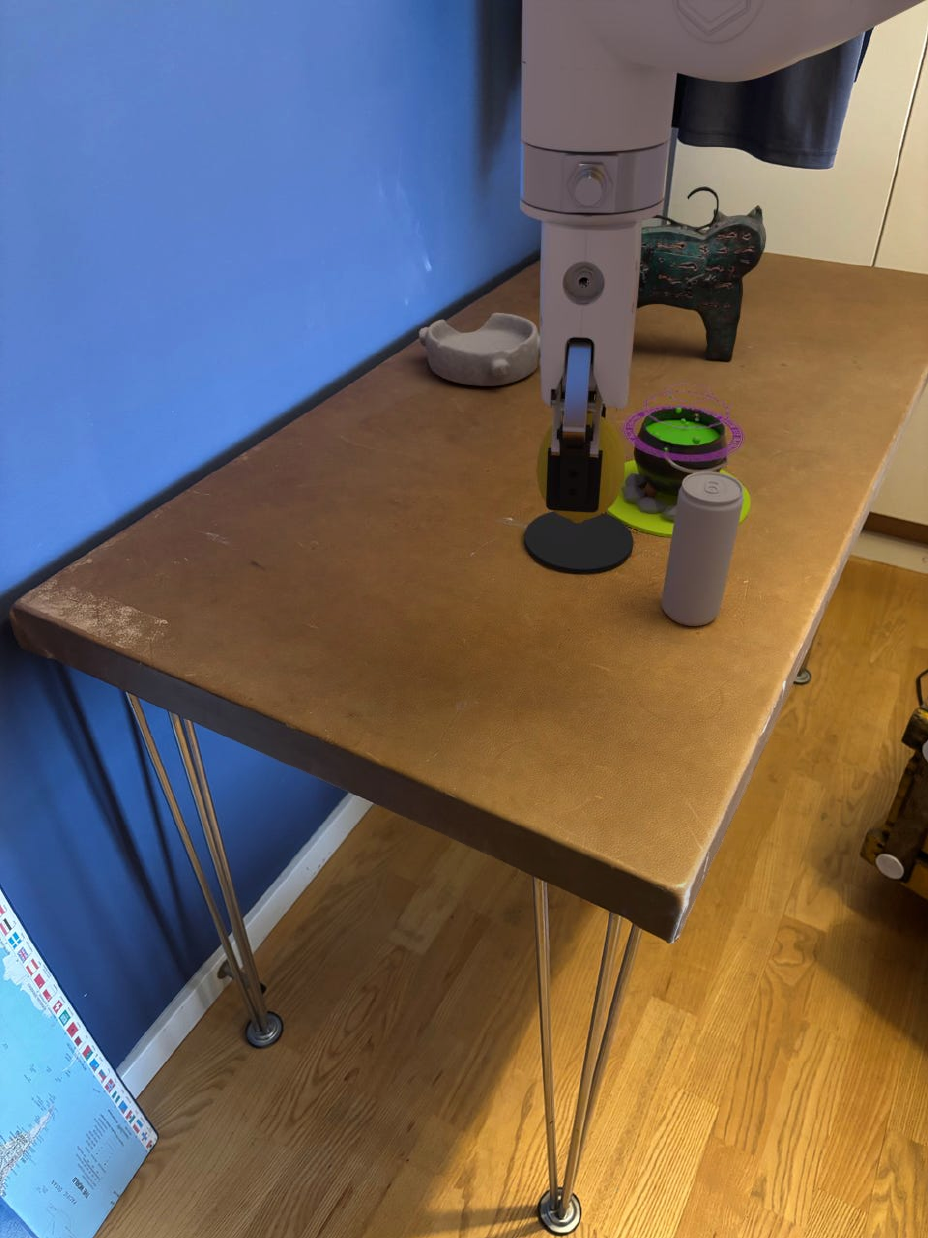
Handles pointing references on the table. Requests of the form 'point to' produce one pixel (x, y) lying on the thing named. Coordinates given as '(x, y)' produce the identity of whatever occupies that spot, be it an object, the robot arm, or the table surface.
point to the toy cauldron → (671, 463)
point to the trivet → (578, 543)
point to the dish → (483, 351)
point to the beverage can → (701, 547)
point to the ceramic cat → (702, 270)
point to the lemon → (609, 474)
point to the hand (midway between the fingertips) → (575, 480)
